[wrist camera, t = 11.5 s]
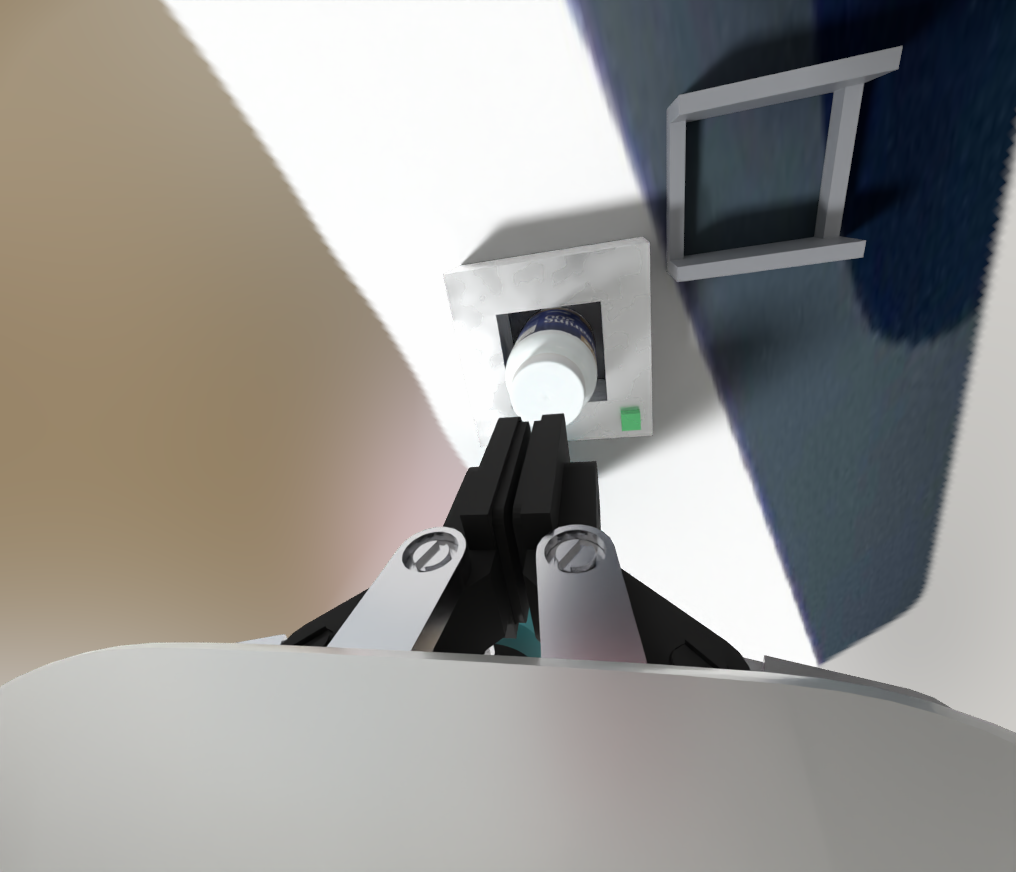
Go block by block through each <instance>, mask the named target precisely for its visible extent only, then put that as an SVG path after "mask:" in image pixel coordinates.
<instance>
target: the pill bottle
mask: <svg viewBox="0 0 1016 872" xmlns="http://www.w3.org/2000/svg"><path fill="white" fill-rule="evenodd" d="M505 381H506V386H507V389H508V392H509V394H510V400H511V404H512V407H513V409H514V411H515V413H516V414H517V415H518V416H520V417H521V419H522V421H524V422H525V421H529V424H530V426H532V427H533V424H534V421H539V420H541V417H542V415H546V414H559V413H564V416H565V422H566V425H568V424H569V423H571V422H572V421H573V420H574V419H575V418H576V417H577V416H578V415H579V413H580V412H581V410H582V408H583V407H584V406H585V405H586V404H587V402H588V401H589V400H590V398H591V396H592V395H593V393H594V390H595V387H596V382H597V363H596V349H595V339H594V334H593V331H592V329H591V327H590V325H589V323H588V322H587V321H586V320H585V318H584V317H583V316H581V315H580V314H579V313H577V312H575V311H573V310H571V309H568V308H564V307H553V308H546V309H543V310H541V311H539V312H537V313H536V314H534V315H533V316H532V317H531V318H530V319H529V320H528V321H527V323H526V324H525V325H524V327H523V329H522V331H521V332H520V335H519V337H518V339H517V341H516V343H515V345H514V347H513V349H512V351H511V353H510V356H509V358H508V361H507V365H506V369H505Z"/></svg>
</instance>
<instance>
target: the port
mask: <svg viewBox="0 0 1016 872" xmlns="http://www.w3.org/2000/svg"><path fill="white" fill-rule="evenodd" d="M443 276H444V281H445V286H446V290H447V295H448V299H449V304H450V309H451V313H452V318H453V323H454V327H455V332H456V336H457V341H458V346H459V350H460V355H461V360H462V364H463V369H464V373H465V378H466V383H467V387H468V392H469V396H470V401H471V406H472V410H473V415H474V420H475V424H476V429H477V433H478V438H479V443H480V447H481V446H488V443H489V441H490V438H491V436H492V433H493V431H494V428H495V426H496V423H497V421H498V419H499V418H504V417H518V415H517V414H516V413H515V411H514V409H513V407H512V404H511V400H510V394H509V392H508V389H507V386H506V381H505V369H506V365H507V361H508V358H509V356H510V353H511V351H512V349H513V347H514V346H513V340H512V334H511V327H510V321H509V315H508V313H514V312H522V311H530V310H537V309H545V308H553V307H560V306H568V305H576V304H583V303H591V302H599V301H601V317H602V332H603V347H604V363H605V378H606V379H598V380H597V382H596V387H595V390H594V393H593V395H592V396H591V398H590V400H589V401H588V402H587V404H586V405H585V406H584V407H583V408H582V410H581V412H580V413H579V415H578V416H577V417H576V418H575V419H574V420H573V421H572V422H571V423H569V424H568V425H566V431H567V440H568V441H575V440H591V439H606V438H622V437H638V436H653V421H652V355H651V289H650V242H649V241H647V240H646V239H645V238H643V237H637V238H630V239H624V240H618V241H611V242H605V243H599V244H592V245H586V246H580V247H573V248H567V249H561V250H554V251H548V252H542V253H535V254H529V255H523V256H516V257H510V258H504V259H497V260H491V261H485V262H478V263H472V264H466V265H460V266H458V267H456V268H454V269H452V270H450V271H449V272H447V273H445V274H443ZM522 422H524V421H522ZM532 428H533V427H532V426H530V429H531V432H532Z"/></svg>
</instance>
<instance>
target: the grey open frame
mask: <svg viewBox="0 0 1016 872" xmlns="http://www.w3.org/2000/svg"><path fill="white" fill-rule="evenodd" d="M902 47H903V46H899V47H894V48H890V49H885V50H881V51H876V52H872V53H867V54H863V55H858V56H854V57H849V58H845V59H840V60H836V61H831V62H827V63H822V64H818V65H813V66H809V67H804V68H799V69H795V70H790V71H786V72H781V73H777V74H772V75H768V76H763V77H759V78H754V79H750V80H745V81H741V82H736V83H732V84H727V85H723V86H718V87H714V88H709V89H705V90H700V91H695V92H691V93H686V94H682V95H679V96H678V97H677V98H676V100H675V101H674V102H673V103H672V104H671V105H670V106H669V107H668V109H667V272H668V273H669V274H670V275H671V276H672V277H673V278H674V279H675V280H676V281H677V282H682V281H690V280H697V279H705V278H712V277H720V276H727V275H734V274H742V273H749V272H757V271H764V270H772V269H779V268H786V267H794V266H801V265H809V264H816V263H824V262H831V261H839V260H846V259H853V258H861V257H863V254H864V249H865V243H866V241H865V240H859V239H853V238H847V237H841V236H839V234H840V228H841V222H842V216H843V210H844V204H845V197H846V191H847V185H848V179H849V173H850V167H851V160H852V154H853V148H854V142H855V136H856V130H857V124H858V117H859V111H860V105H861V99H862V93H863V87H864V83H865V82H868V81H870V80H873V79H875V78H877V77H880V76H882V75H885V74H887V73H890V72H892V71H894V70H897V69H898V68H899V63H900V57H901V52H902ZM831 92H834V96H833V103H832V110H831V118H830V125H829V132H828V139H827V147H826V154H825V161H824V168H823V175H822V183H821V190H820V197H819V204H818V211H817V219H816V226H815V233H814V237H810V238H803V239H796V240H789V241H782V242H776V243H769V244H762V245H755V246H748V247H741V248H735V249H728V250H721V251H714V252H707V253H700V254H694V255H687V256H684V202H685V142H686V122H691V121H696V120H701V119H706V118H710V117H715V116H720V115H725V114H730V113H735V112H739V111H744V110H749V109H754V108H759V107H763V106H768V105H773V104H778V103H783V102H787V101H792V100H797V99H802V98H807V97H812V96H816V95H821V94H826V93H831Z"/></svg>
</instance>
